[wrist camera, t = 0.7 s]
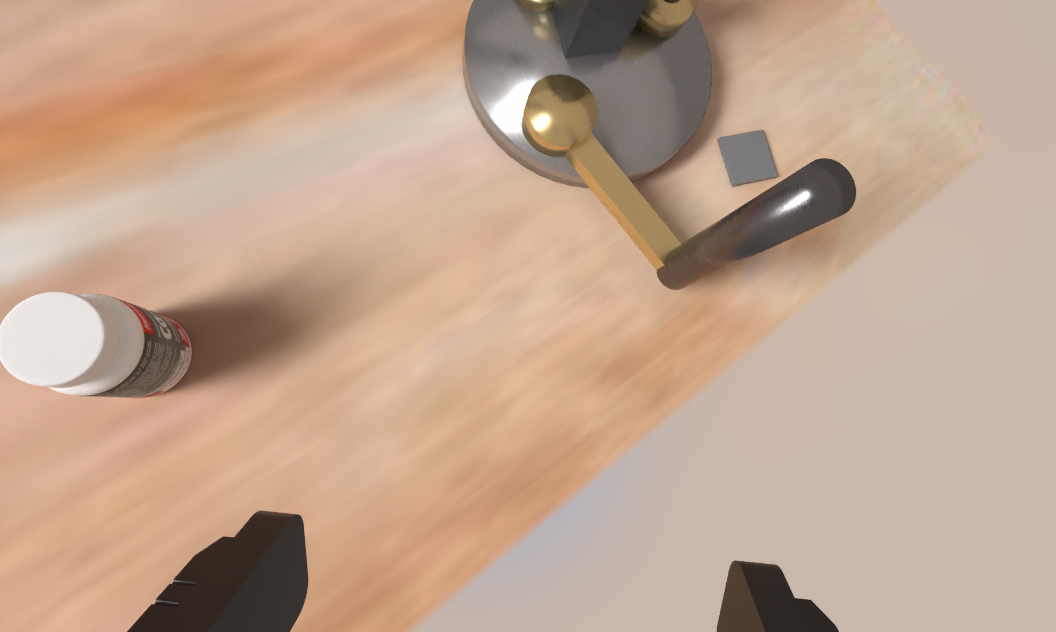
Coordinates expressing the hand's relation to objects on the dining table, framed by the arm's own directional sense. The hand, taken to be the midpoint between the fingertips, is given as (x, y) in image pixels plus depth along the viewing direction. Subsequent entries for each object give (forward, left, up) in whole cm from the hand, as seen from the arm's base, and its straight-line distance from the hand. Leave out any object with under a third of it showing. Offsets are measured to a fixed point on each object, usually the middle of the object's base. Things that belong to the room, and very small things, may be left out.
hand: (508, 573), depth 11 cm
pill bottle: (-10, -15, -24) cm, 30 cm away
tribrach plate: (-23, +15, -24) cm, 36 cm away
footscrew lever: (-14, +14, -21) cm, 29 cm away
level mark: (-15, +25, -24) cm, 38 cm away
